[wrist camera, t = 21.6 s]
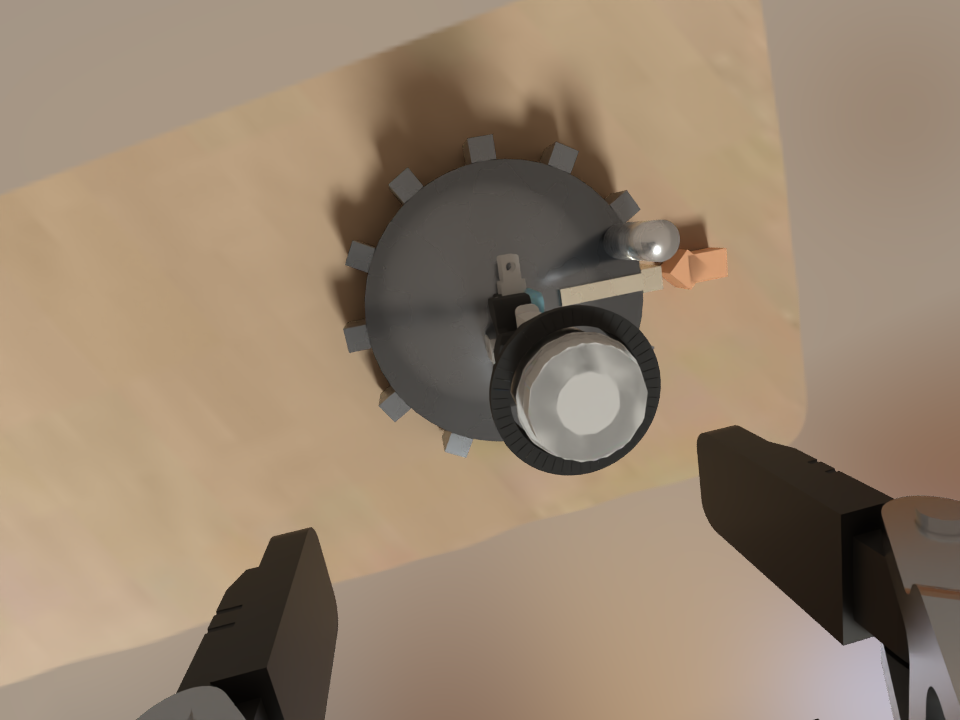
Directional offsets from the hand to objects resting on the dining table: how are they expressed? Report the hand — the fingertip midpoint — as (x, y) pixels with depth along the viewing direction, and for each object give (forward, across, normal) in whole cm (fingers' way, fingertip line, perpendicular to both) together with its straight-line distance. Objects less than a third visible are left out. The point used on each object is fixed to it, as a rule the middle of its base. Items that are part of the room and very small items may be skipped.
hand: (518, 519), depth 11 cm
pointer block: (+16, -14, -2) cm, 21 cm away
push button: (+14, -3, -1) cm, 15 cm away
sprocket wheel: (+16, -3, -2) cm, 17 cm away
